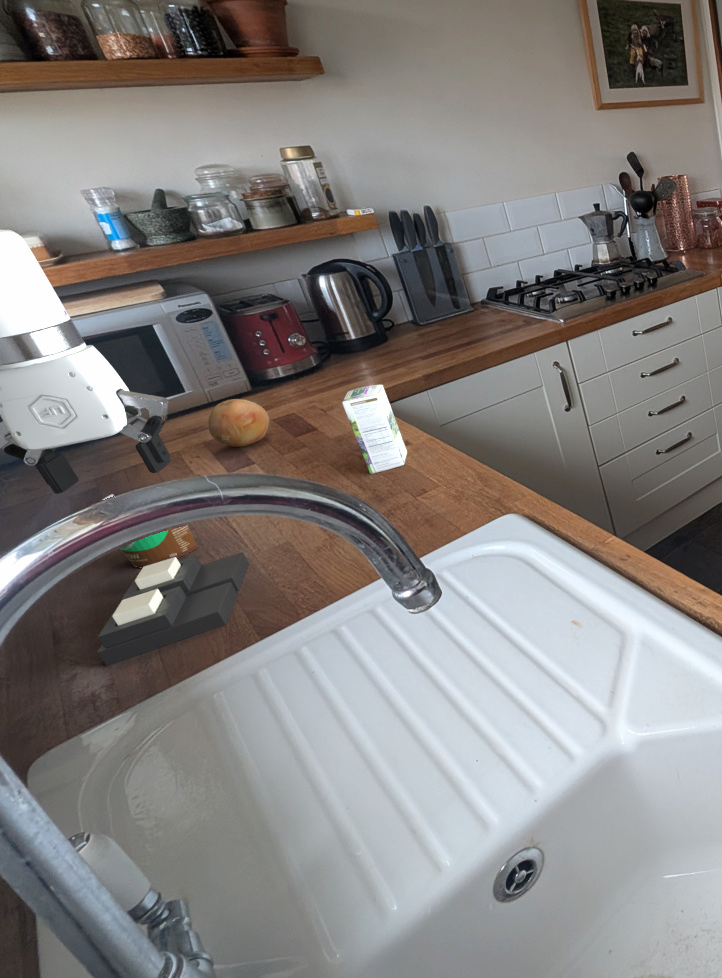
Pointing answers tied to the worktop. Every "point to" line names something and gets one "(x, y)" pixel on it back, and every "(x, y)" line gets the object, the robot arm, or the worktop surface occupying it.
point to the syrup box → (375, 428)
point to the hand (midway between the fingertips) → (115, 477)
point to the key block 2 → (167, 622)
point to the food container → (159, 546)
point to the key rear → (158, 573)
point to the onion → (238, 422)
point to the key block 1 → (200, 576)
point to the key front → (138, 607)
